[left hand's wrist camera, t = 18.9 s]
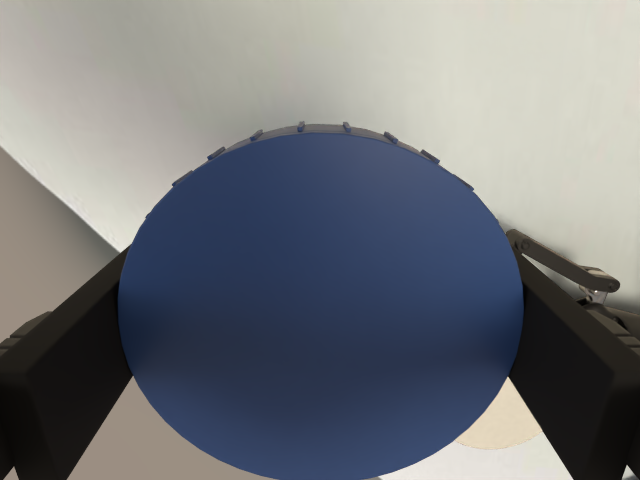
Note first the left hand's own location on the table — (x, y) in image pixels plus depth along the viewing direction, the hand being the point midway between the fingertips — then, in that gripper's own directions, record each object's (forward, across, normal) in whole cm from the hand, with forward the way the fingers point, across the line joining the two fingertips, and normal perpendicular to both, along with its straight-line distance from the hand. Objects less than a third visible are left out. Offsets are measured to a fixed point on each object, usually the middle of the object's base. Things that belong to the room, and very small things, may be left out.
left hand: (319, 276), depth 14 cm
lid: (-3, 0, 0) cm, 3 cm away
